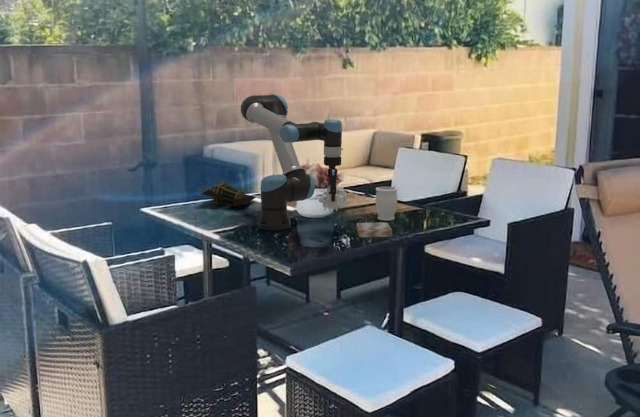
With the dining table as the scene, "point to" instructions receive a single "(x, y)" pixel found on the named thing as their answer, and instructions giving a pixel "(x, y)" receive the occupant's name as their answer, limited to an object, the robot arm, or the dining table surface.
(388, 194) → the jar
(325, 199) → the mechanical part
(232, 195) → the lantern
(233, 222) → the dining table surface
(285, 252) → the dining table surface
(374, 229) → the stand
